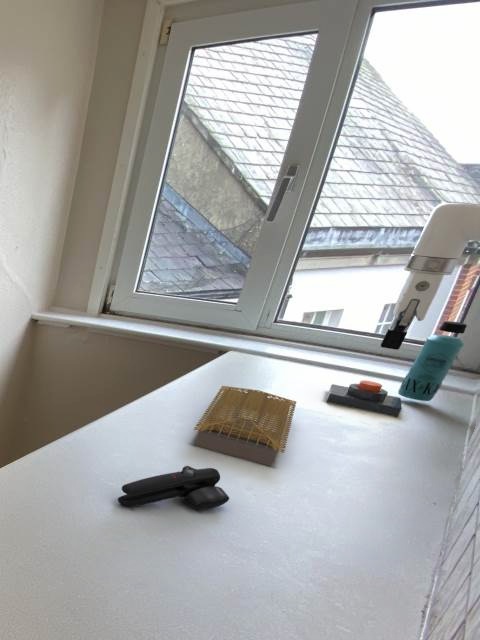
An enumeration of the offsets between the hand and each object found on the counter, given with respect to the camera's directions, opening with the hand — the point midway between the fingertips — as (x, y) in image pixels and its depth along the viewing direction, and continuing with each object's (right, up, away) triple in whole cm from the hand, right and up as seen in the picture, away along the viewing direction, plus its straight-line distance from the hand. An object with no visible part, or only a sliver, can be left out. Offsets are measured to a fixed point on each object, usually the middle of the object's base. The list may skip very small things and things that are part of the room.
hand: (389, 347), depth 127 cm
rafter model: (-42, -20, -11) cm, 48 cm away
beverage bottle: (+15, -12, +9) cm, 21 cm away
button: (0, -9, +5) cm, 11 cm away
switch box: (-1, -13, +6) cm, 14 cm away
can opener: (-75, -32, -39) cm, 91 cm away
